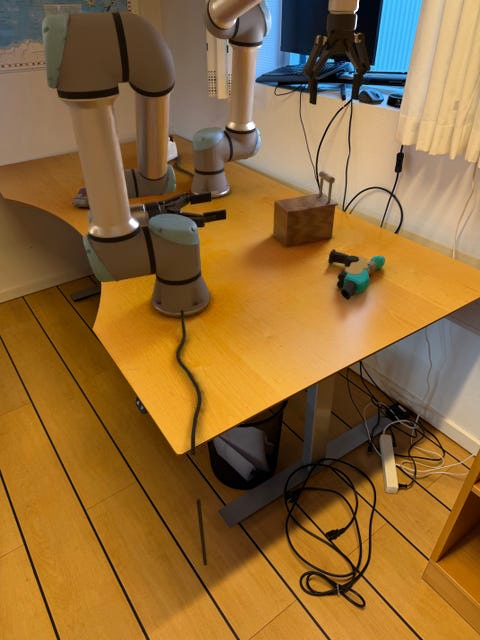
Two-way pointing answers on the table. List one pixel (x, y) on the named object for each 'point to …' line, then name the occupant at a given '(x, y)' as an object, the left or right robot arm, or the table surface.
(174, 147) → the sneaker
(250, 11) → the right robot arm
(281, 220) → the chest
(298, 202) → the lid
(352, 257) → the toy gun
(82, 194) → the toy gun
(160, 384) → the table surface
